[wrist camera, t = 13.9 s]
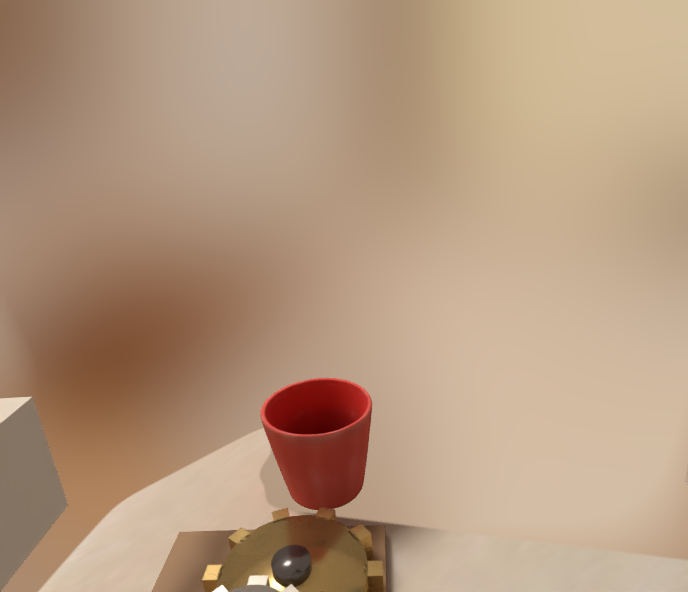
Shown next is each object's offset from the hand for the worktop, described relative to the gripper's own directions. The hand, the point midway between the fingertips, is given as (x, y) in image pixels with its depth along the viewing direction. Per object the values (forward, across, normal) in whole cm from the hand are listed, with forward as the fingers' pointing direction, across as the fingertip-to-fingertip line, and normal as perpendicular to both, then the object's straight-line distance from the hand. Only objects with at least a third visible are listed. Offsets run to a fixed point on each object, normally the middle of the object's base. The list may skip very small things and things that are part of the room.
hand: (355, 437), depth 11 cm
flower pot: (+36, -7, -30) cm, 47 cm away
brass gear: (+22, -8, -29) cm, 37 cm away
